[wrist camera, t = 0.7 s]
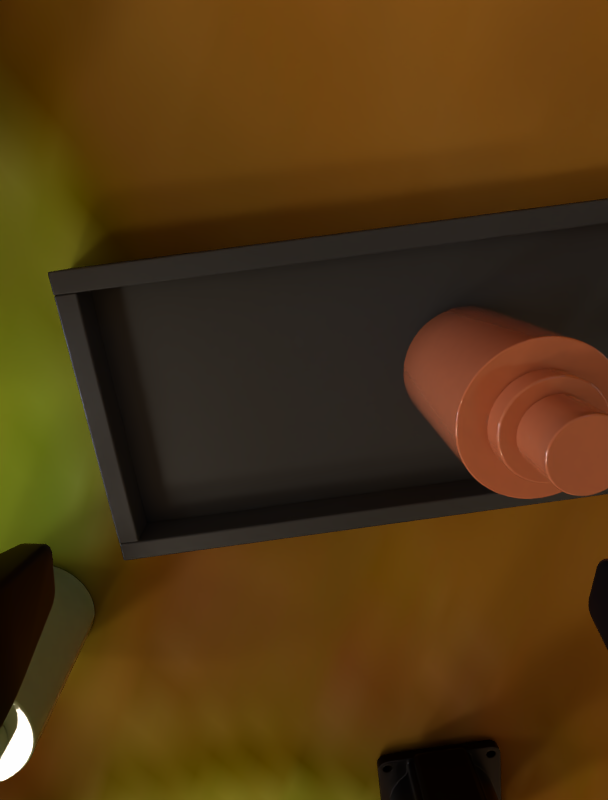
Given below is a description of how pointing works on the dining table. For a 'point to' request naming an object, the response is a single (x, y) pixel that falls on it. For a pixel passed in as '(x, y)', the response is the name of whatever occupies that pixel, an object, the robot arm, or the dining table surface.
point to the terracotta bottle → (513, 401)
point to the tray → (305, 371)
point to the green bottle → (46, 672)
